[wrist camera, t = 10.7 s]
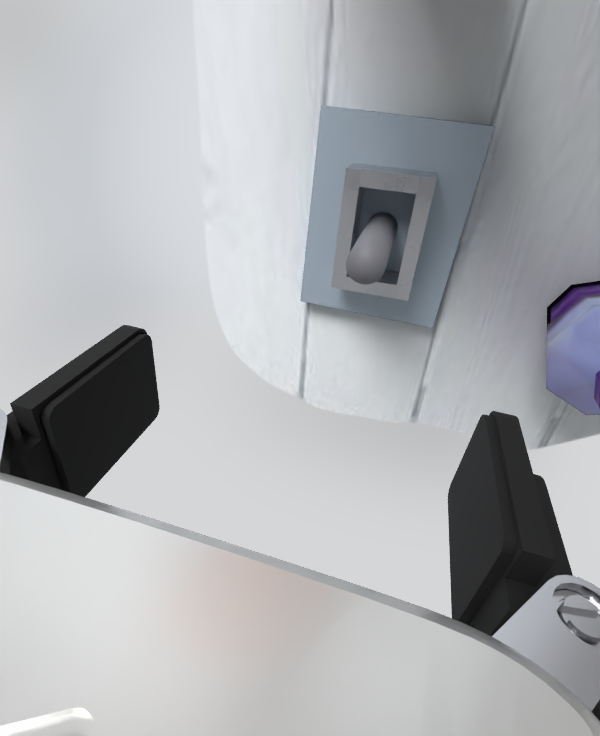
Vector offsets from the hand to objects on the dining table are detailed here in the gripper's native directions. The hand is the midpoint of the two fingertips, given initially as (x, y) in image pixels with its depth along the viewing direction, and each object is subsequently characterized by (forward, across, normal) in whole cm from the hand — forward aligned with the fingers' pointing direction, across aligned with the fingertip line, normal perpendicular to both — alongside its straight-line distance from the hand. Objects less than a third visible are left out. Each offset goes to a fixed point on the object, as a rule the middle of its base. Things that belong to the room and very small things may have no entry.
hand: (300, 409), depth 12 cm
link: (+23, 0, 0) cm, 23 cm away
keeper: (+24, 0, 0) cm, 24 cm away
